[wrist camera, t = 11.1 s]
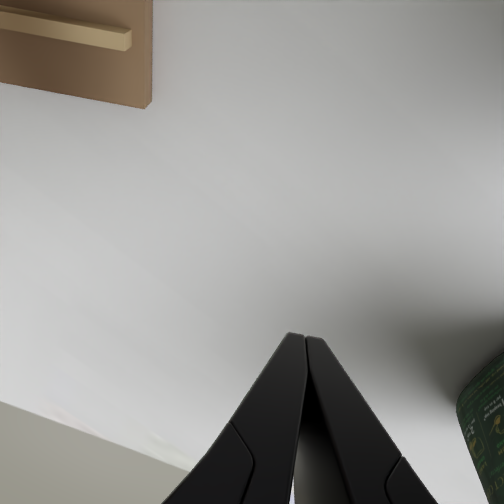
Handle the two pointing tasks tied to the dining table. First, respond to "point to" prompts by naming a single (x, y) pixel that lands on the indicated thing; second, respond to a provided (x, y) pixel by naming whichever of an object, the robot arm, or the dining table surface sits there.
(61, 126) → the dining table surface
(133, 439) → the dining table surface
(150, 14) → the trammel board
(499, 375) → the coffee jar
